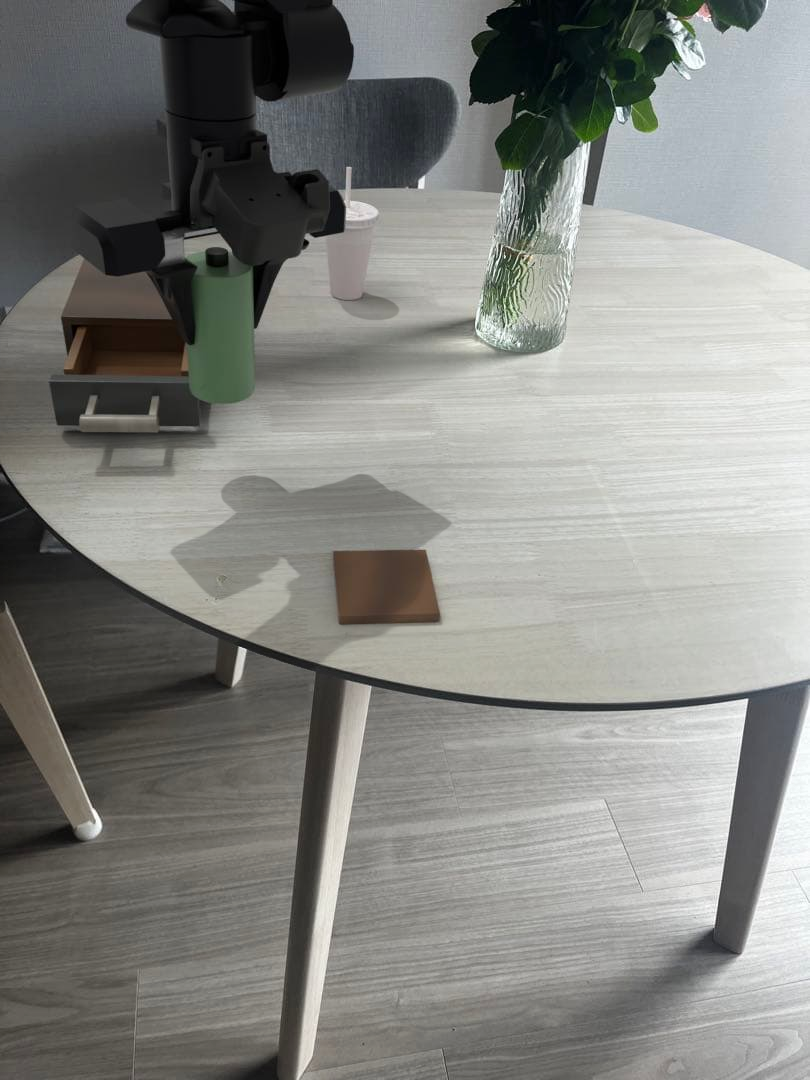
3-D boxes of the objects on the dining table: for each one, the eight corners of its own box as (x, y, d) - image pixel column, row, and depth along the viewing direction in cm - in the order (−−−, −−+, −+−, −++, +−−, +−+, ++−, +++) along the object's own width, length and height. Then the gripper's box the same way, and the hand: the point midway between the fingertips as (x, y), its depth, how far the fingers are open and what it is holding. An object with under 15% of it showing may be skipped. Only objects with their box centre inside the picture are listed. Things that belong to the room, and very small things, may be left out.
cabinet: (212, 378, 86) (209, 319, 83) (70, 376, 84) (60, 316, 81) (217, 317, 97) (215, 262, 93) (91, 314, 95) (83, 258, 91)
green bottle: (210, 410, 67) (203, 269, 60) (177, 382, 70) (167, 244, 63) (267, 393, 70) (266, 256, 63) (233, 367, 73) (229, 233, 66)
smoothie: (352, 278, 108) (358, 157, 99) (385, 298, 104) (394, 174, 96) (308, 288, 105) (310, 164, 96) (340, 309, 101) (345, 181, 92)
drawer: (196, 456, 74) (193, 411, 72) (46, 456, 73) (37, 410, 70) (206, 359, 88) (204, 317, 85) (79, 356, 86) (73, 314, 83)
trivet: (338, 624, 62) (339, 615, 61) (332, 558, 67) (333, 550, 66) (438, 621, 63) (440, 613, 62) (425, 557, 68) (426, 549, 67)
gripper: (133, 162, 48) (157, 416, 57) (402, 129, 58) (384, 349, 67) (47, 110, 54) (82, 347, 64) (303, 88, 64) (300, 295, 74)
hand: (220, 335), depth 67 cm, fingers closed on green bottle, 5 cm apart
